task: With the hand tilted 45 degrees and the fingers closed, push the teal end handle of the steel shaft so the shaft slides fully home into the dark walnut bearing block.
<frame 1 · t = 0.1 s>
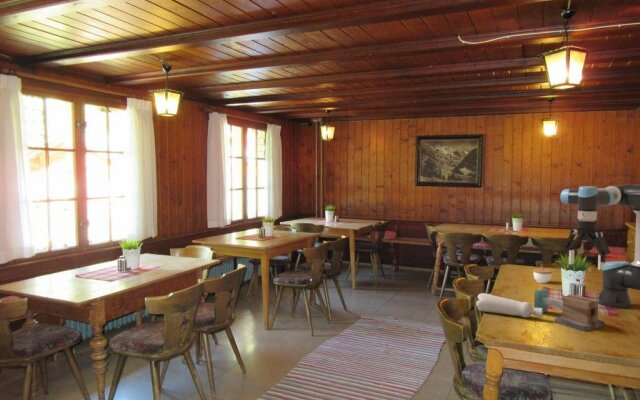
hand: (585, 266, 211), 28 cm above the table, tool pointing down, fingers open, 13 cm apart
lidded jar: (542, 282, 298), on the table
bottle: (508, 315, 230), on the table
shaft: (556, 304, 227), point 6 cm above the table, slide at 10.0 cm
bearing block: (571, 321, 220), on the table
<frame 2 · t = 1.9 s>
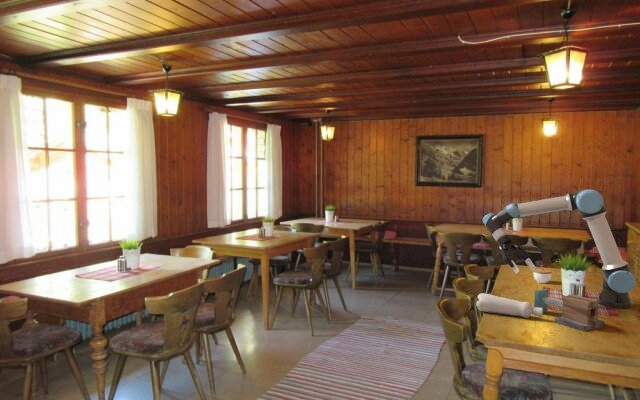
hand: (526, 270, 241), 20 cm above the table, tool tilted 45°, fingers open, 12 cm apart
nothing on the table moved.
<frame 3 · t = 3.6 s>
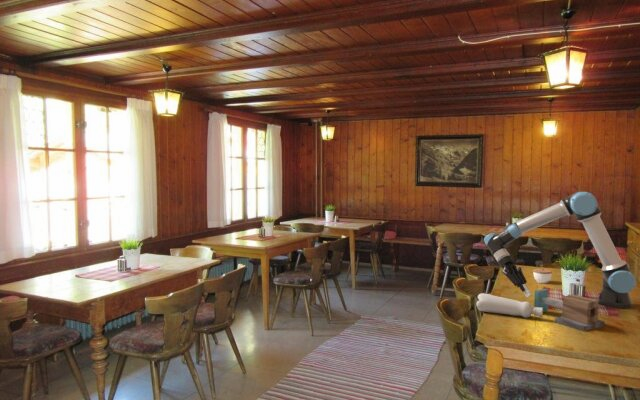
hand: (529, 296, 240), 7 cm above the table, tool tilted 45°, fingers closed
nothing on the table moved.
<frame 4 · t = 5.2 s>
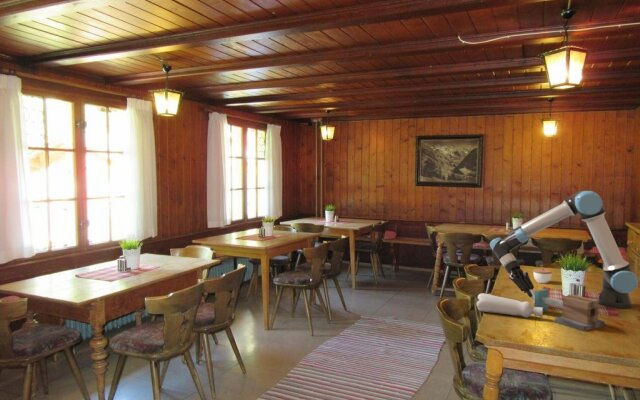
hand: (536, 301, 236), 5 cm above the table, tool tilted 45°, fingers closed
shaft: (556, 304, 227), point 6 cm above the table, slide at 9.9 cm, touching gripper
everything else where it was.
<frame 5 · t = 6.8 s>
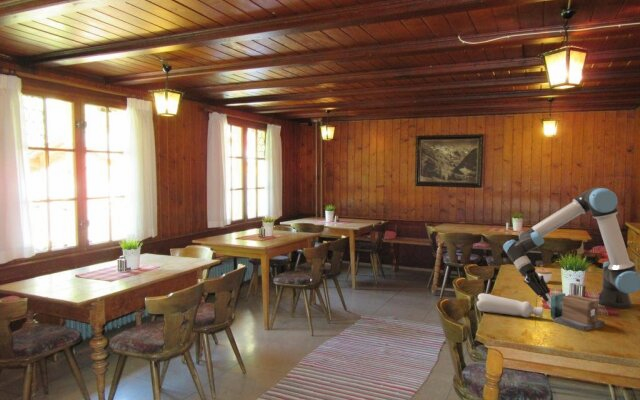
hand: (553, 306, 228), 5 cm above the table, tool tilted 45°, fingers closed
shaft: (573, 309, 219), point 6 cm above the table, slide at 0.9 cm, touching gripper
everything else where it was.
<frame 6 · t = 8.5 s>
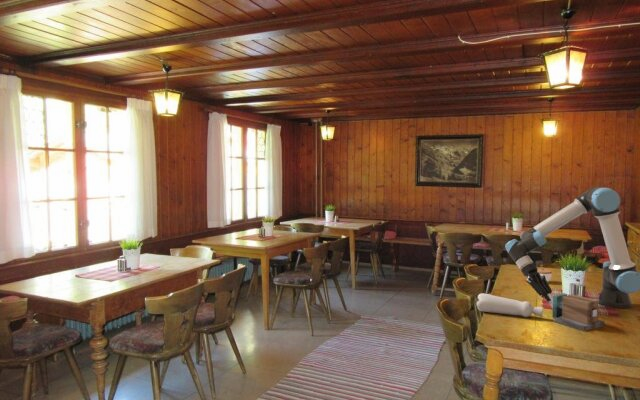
hand: (555, 306, 227), 5 cm above the table, tool tilted 45°, fingers closed
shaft: (575, 310, 218), point 6 cm above the table, slide at 0.0 cm
everything else where it was.
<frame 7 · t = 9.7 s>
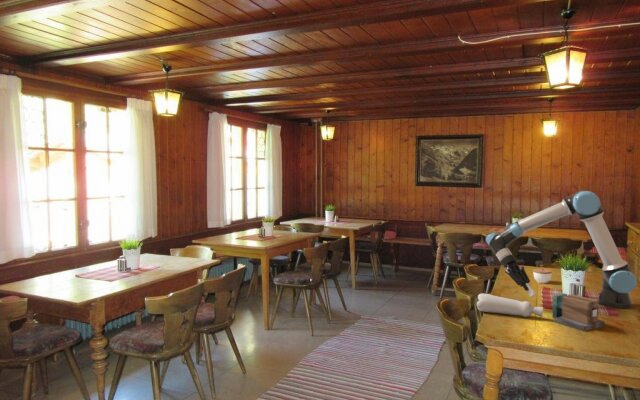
hand: (533, 295, 238), 8 cm above the table, tool tilted 45°, fingers closed
nothing on the table moved.
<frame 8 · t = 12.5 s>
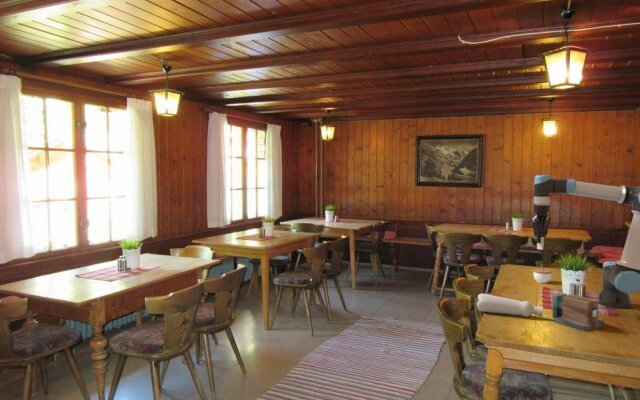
hand: (540, 249, 244), 30 cm above the table, tool pointing down, fingers closed
at the end: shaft slide at 0.0 cm; bottle moved 0.8 cm from its start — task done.
